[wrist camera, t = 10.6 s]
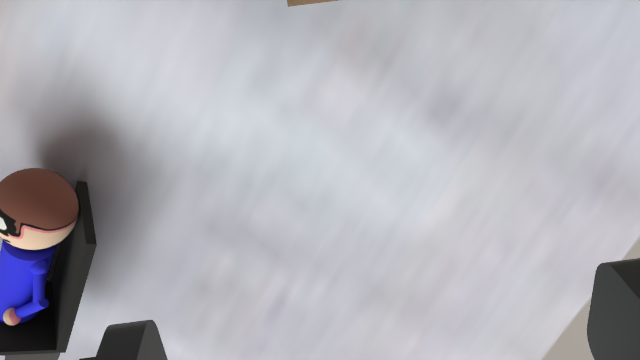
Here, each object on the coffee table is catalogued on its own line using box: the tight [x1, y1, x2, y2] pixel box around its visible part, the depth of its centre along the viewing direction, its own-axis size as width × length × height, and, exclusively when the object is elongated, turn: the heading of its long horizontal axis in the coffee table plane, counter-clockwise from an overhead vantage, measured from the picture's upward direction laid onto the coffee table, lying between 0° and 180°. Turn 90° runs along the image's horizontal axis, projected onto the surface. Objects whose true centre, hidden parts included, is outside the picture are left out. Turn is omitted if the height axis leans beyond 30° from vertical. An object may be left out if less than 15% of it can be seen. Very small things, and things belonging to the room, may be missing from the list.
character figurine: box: [0, 168, 97, 360], centre depth 39 cm, size 8×7×15 cm
